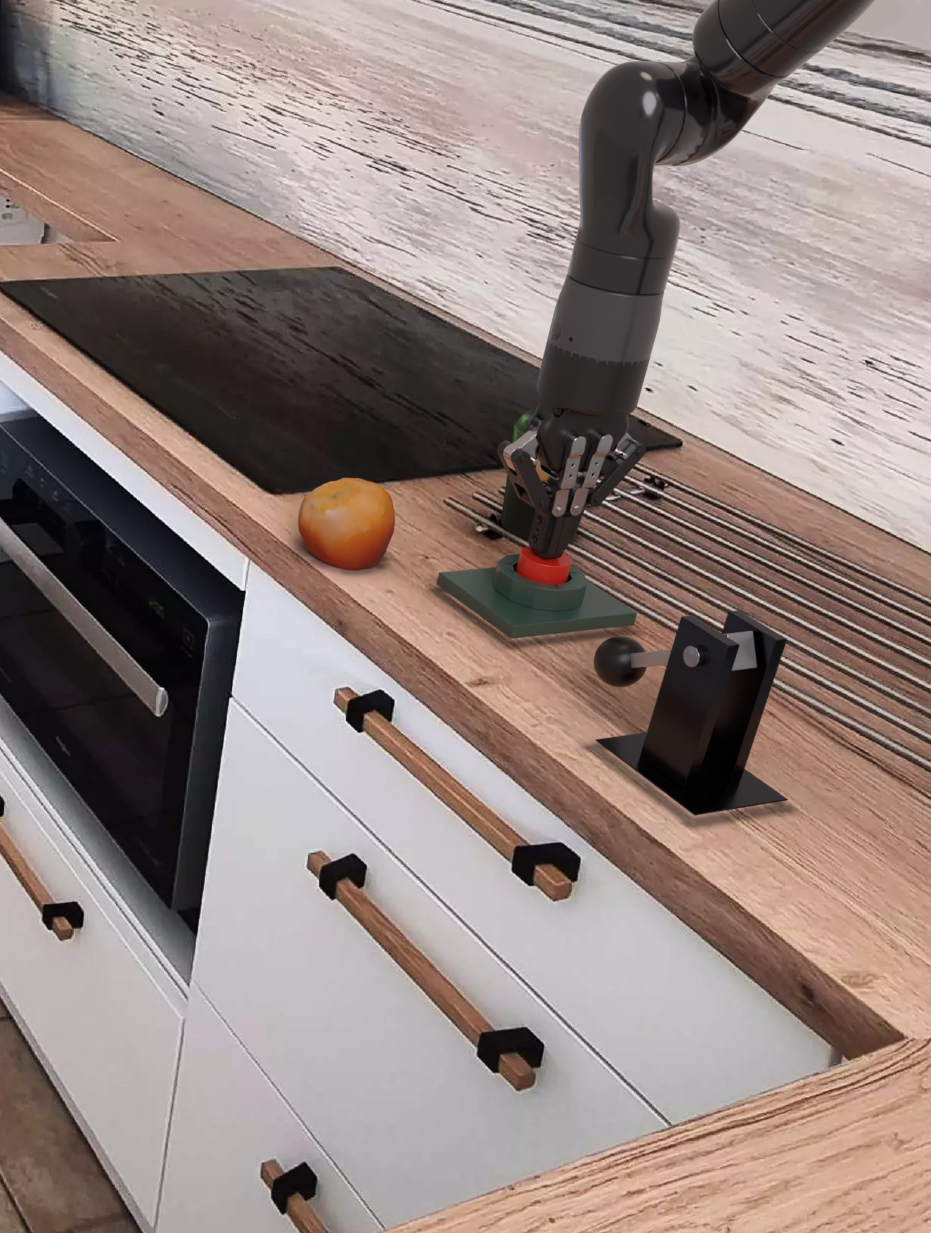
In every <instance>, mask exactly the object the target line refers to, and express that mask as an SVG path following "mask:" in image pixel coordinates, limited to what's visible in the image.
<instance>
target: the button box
mask: <svg viewBox="0 0 931 1233" xmlns="http://www.w3.org/2000/svg"><path fill="white" fill-rule="evenodd" d="M519 555H520V553H517V554H515V553H514V554H507V555H505V556H503V557H501V559H499V560H497V562H496V565H495V566H493V567H485V568H483V567H482V568H473V569H462V570H461V569H460V570H452V571H439V573H438V576H437V580H436V586H438V587H439V588H441V589H442V590H443V591H444V592H446V593H447V594H449V595H450V596H451V597H453V598H454V599H456V600H457V601H458V602H459V603H461V604H462V605H464V606H465V607H467V608H468V609H469V610H470V611H472V612H474V613H475V614H476V615H477V616H479V617H480V618H482V620H484V621H485V622H487V623H488V624H490V625H491V626H493V627H494V628H495V629H497V630H498V631H499V632H501V633H502V634H504V636H506V637H508V639H511V640H512V639H521V638H529V637H539V636H547V635H558V634H565V633H575V632H585V631H593V630H603V629H610V628H612V629H613V628H620V627H628V626H629V627H630V626H635V623H636V619H637V616H638V612H637V611H635V610H634V609H632V608H630V607H629V606H628V605H626V604H625V603H623V602H621V601H620V600H618V599H617V598H615V597H614V596H612V595H610V594H609V593H607V592H606V591H604V590H603V589H601V587H598V586H597V585H596V584H594V583H592V582H591V581H590V580H588V579H587V577H586V574H585V573H584V572H583V571H582V570H580V569H578V568H577V567H576V566H574V565H572V564H571V567H570V571H569V575H568V579H567V582H566V583H563V584H548V583H541V582H536V581H533V580H530V579H528V578H525V577H522V576H521V575H519V574H518V573H517V572H516V568H517V564H518V560H519Z"/></svg>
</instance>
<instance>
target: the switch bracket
mask: <svg viewBox="0 0 931 1233" xmlns="http://www.w3.org/2000/svg"><path fill="white" fill-rule="evenodd" d="M747 631H753V636H754V645H755V654H756V662H757V667H756V668H751V669H743V670H735V671H732V668H733V665H734V662H735V659H736V655H737V652H738V649H739V646H740V645H739V644H738V643H736V642H734V641H733V640H731V639H730V638H728V637H727V636H725V635H723V634H727V633H737V632H747ZM787 641H788V639H787V638H786V637H784V636H783V635H782V634H780V633H778V632H776V631H775V630H773V629H771V628H770V627H768V626H767V625H765V624H764V623H761V622H760V621H758V620H756V619H755V618H754V617H751V616H750V615H748V614H746V613H745V612H744V611H742V610H740V609H739V610H730V611H728V612H727V615H726V618H725V621H724V625H723V628H722V631H718V630H717V629H715V628H714V627H712V626H711V625H709V624H707V623H705V622H704V621H703V620H701V619H699V618H698V617H697V616H695V615H693V614H691V615H685V616H684V615H683V616H681V617H680V619H679V623H678V627H677V630H676V633H675V636H674V639H673V643H672V646H671V649H670V650H671V653H670V656H669V660H668V663H667V665H665V666H666V667H665V670H664V674H663V678H662V680H661V683H660V687H659V691H658V694H657V697H656V701H655V704H654V707H653V710H652V713H651V717H650V721H649V724H648V727H647V731H645V732H639V733H638V732H637V733H631V734H624V735H618V736H617V735H616V736H611V737H604V738H603V737H602V738H596V739H595V742H597V743H598V744H599V745H600V746H602V747H604V749H606V750H607V751H609V752H610V753H611V754H613V755H614V756H615V757H616V758H618V759H619V760H620V761H621V762H623V763H624V764H626V765H627V766H628V767H630V768H631V769H632V770H634V771H635V772H636V773H638V774H639V775H640V776H641V777H643V778H644V779H645V780H647V781H648V782H650V784H652V785H653V786H655V787H656V788H657V789H659V790H660V791H661V792H663V793H664V794H665V795H666V796H668V797H669V798H671V800H673V801H674V802H676V803H677V804H679V805H680V806H681V807H682V808H684V809H685V810H686V811H688V812H689V813H690V814H691V815H693V816H702V815H707V814H714V813H719V812H725V811H732V810H737V809H743V808H750V807H755V806H762V805H768V804H773V803H780V802H786V801H788V800H789V799H788V798H787V797H786V796H784V795H783V794H781V793H780V792H779V791H777V790H776V789H775V788H773V787H771V786H770V785H768V784H767V783H766V782H765V781H763V780H761V779H760V778H759V777H758V776H756V775H755V774H753V773H752V772H750V771H749V770H748V769H746V766H747V763H748V760H749V756H750V753H751V751H752V747H753V744H754V741H755V738H756V735H757V732H758V730H759V726H760V724H761V722H762V717H763V715H764V711H765V709H766V705H767V702H768V699H769V697H770V693H771V690H772V688H773V687H772V686H773V684H774V681H775V679H776V678H775V677H776V675H777V673H778V669H779V666H780V663H781V659H782V657H783V653H784V650H785V648H786V645H787Z"/></svg>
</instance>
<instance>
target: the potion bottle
mask: <svg viewBox="0 0 931 1233" xmlns="http://www.w3.org/2000/svg"><path fill="white" fill-rule="evenodd" d="M536 409H537V407H536V408H532V409H529V410H526V411H525V412H523V414H521V416H520V417H519V419H517V421H516V422H515V423H514V425H513V430H512V431H513V432H512V439H511V443H512V444H513V443H514V442H515V441H516V440H518V439H519V438H520V437H521V436H523V435H524V434H525V433H526V432H528V430H527V427H528V423H529V420H530V419H531V417H532V416H533V414H534V413H535V411H536ZM535 453H536V452H535ZM536 459H537V454H536ZM534 466H535V467H536V465H534ZM506 474H507V473H506ZM505 480H506V481H505V487H504V488H505V489H504V494H503V502H502V509H501V515H500V524H501V525H502V528H504V529H505V530H507V531H508V532H509V533H511V534H513V535H516V536H518V537H520V538H523V539H526V540H528V539H529V535H530V531H531V529H532V528H531V527H532V523H533V519H534V515H535V508H534V507H532V506H531V505H529V504H528V503H526V502H525V501H523V500H521V499H520V498H518V496H517V494H516V492H515V489H514V487H513V485H512V483H511V481H510V479H509V476H508V474H507V475H506V479H505ZM552 493H553V487H552ZM552 493H551V496H552ZM585 510H586V507H584V508H583V510H582V512H581V513H580V514H579V515H576V517H575V521H574V525H573V529H572V532H571V536H570V540H569V542H571V541H573V540H574V538H575V537H576V535H577V532H578V529H579V527H580V524H581V521H582V518H583V516H584V512H585Z"/></svg>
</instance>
